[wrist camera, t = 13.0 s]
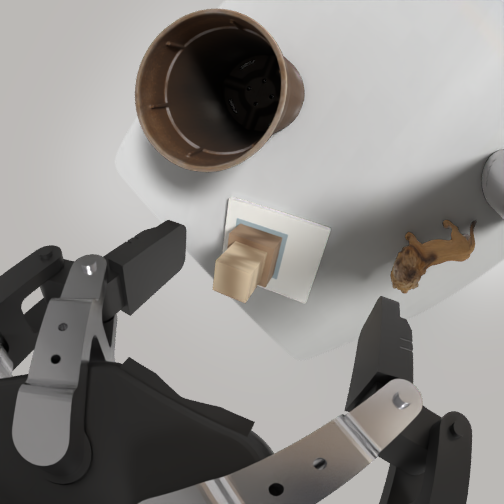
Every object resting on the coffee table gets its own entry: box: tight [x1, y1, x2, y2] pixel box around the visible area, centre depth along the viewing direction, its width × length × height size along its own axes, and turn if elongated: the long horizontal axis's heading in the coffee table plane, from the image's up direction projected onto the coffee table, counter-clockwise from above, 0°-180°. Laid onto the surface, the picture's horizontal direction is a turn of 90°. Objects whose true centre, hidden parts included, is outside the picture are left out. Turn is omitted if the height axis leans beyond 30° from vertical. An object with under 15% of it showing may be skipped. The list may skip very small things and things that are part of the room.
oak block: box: [213, 241, 267, 303], centre depth 40 cm, size 5×5×6 cm
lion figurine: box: [390, 220, 477, 293], centre depth 31 cm, size 15×5×9 cm, turn 126°
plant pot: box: [135, 9, 304, 172], centre depth 29 cm, size 16×16×16 cm
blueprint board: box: [222, 197, 331, 304], centre depth 46 cm, size 16×14×1 cm
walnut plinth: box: [227, 224, 282, 287], centre depth 44 cm, size 7×7×4 cm
